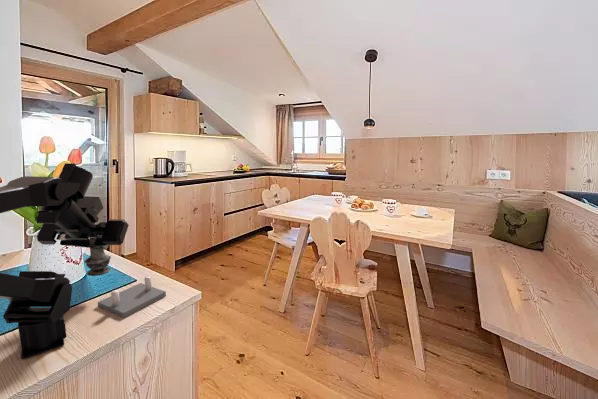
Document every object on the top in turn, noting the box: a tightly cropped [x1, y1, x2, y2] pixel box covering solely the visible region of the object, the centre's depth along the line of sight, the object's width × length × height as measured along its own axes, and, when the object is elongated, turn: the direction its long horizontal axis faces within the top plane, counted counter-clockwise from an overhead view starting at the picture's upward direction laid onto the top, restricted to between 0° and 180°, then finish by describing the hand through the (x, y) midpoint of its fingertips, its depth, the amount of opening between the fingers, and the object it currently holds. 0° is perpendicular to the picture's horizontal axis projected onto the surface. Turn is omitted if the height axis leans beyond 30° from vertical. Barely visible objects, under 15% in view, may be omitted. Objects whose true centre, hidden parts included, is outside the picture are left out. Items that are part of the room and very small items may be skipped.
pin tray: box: [97, 275, 167, 318], centre depth 78 cm, size 12×10×5 cm
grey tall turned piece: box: [84, 238, 112, 277], centre depth 79 cm, size 6×6×12 cm
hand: (99, 246), depth 80 cm, fingers closed on grey tall turned piece, 4 cm apart
